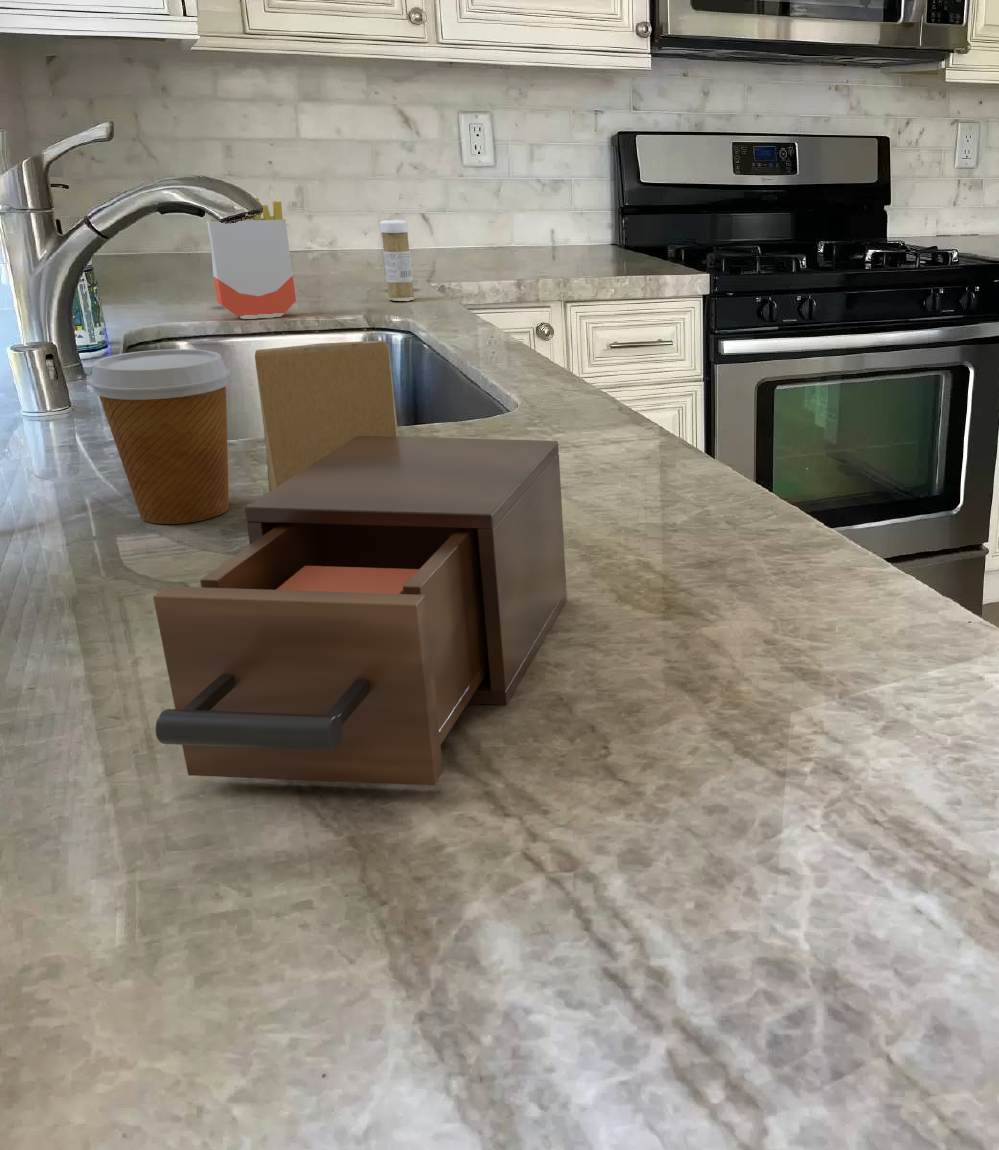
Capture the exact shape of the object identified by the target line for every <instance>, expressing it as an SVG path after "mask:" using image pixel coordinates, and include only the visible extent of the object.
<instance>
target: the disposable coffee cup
mask: <svg viewBox="0 0 999 1150" xmlns="http://www.w3.org/2000/svg"><path fill="white" fill-rule="evenodd" d="M91 373H92V375H91V376H92V377H91V378H90V379H88V384H89V386H90V387H92V388H93V390H94V393H95V394H96V395H97V396H98V397H99V400H100V402H101V405H102V408H103V411H104V415H105V417H106V421H107V424H108V427H109V429H110V432H111V435H112V437H113V441H114V444H115V447H116V449H117V452H118V455H119V458H120V460H121V465H122V467H123V470H124V472H125V475H126V479H127V482H128V485H129V487H130V491H131V493H132V496H133V498H134V503H135V504H136V508H137V511H138V515H139V516H140V517H139V518H140V519H141V520H142V521H144V522H148V523H152V524H158V525H159V524H160V525H178V524H179V525H180V524H186V523H195V522H200V521H205V520H208V519H212V518H215V517H219V516H220V515H222V514H224V513H225V512H227V511H228V510H229V508H230V504H229V503H230V501H229V500H230V499H229V498H230V497H229V496H230V495H229V464H228V463H229V456H228V452H229V451H228V450H229V449H228V418H227V416H228V414H227V413H228V412H227V386H228V385H229V377H231V370H230V369H229V368H226V365H225V363H224V360H223V358H222V355H221V354H220V353H219V352H217V351H212V350H206V349H205V350H204V349H192V348H191V349H190V348H189V349H187V348H182V349H181V348H172V349H169V348H168V349H167V348H165V349H153V350H151V349H150V350H141V351H132V352H125V353H118V354H114V355H109V356H105V357H102V358H99V359H97V360H95V361H94V362H93V363H92V372H91Z"/></svg>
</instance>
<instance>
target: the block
mask: <svg viewBox="0 0 999 1150" xmlns="http://www.w3.org/2000/svg"><path fill="white" fill-rule="evenodd" d="M418 570H419V569H394V568H363V567H331V566H304V567H303V568H302V569H300V570H299V571H298V572H297V573H295V574H294V575H293V576H292V577H291V578H289V579H288V580H287V581H286V582H284V583H283V584H282V585H281V586H280V587H278V588H277V589H276V590H293V591H324V592H354V593H385V594H404V592H403V586H404V585H405V584H406V583H407V582H408V581H409V580H410V578H411V577H412V576H413V575H414V574H415V573H416V572H417V571H418Z"/></svg>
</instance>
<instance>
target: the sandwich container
mask: <svg viewBox="0 0 999 1150" xmlns="http://www.w3.org/2000/svg"><path fill="white" fill-rule="evenodd" d="M254 362H255V370H256V377H257V378H256V379H257V385H258V393H259V394H258V395H259V402H260V409H261V417H262V418H261V419H262V425H263V426H262V427H263V432H264V433H263V435H264V445H265V453H266V468H267V479H268V490H269V491H271V490H273V489H274V488H276V487H277V486H279V485H280V484H282V483H284V482H285V481H287V480H288V479H290V478H292V477H293V476H295V475H296V474H298V473H299V472H301V471H303V470H304V469H306V468H307V467H309V466H310V465H312V464H314V463H315V462H317V461H318V460H320V459H321V458H323V457H325V456H326V455H328V454H329V453H331V452H332V451H334V450H336V449H337V448H339V447H340V446H342V445H344V444H345V443H347V442H348V441H350V440H351V439H353V438H355V437H356V436H391V437H399V432H398V422H397V412H396V403H395V394H394V393H395V392H394V384H393V375H392V374H393V373H392V366H391V356H390V346H389V344H388V342H387V341H386V340H365V341H364V340H363V341H345V342H344V341H343V342H341V341H340V342H323V343H322V342H321V343H311V344H301V345H292V346H282V347H273V348H262V349H256V350H255V352H254ZM269 491H268V492H269Z"/></svg>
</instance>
